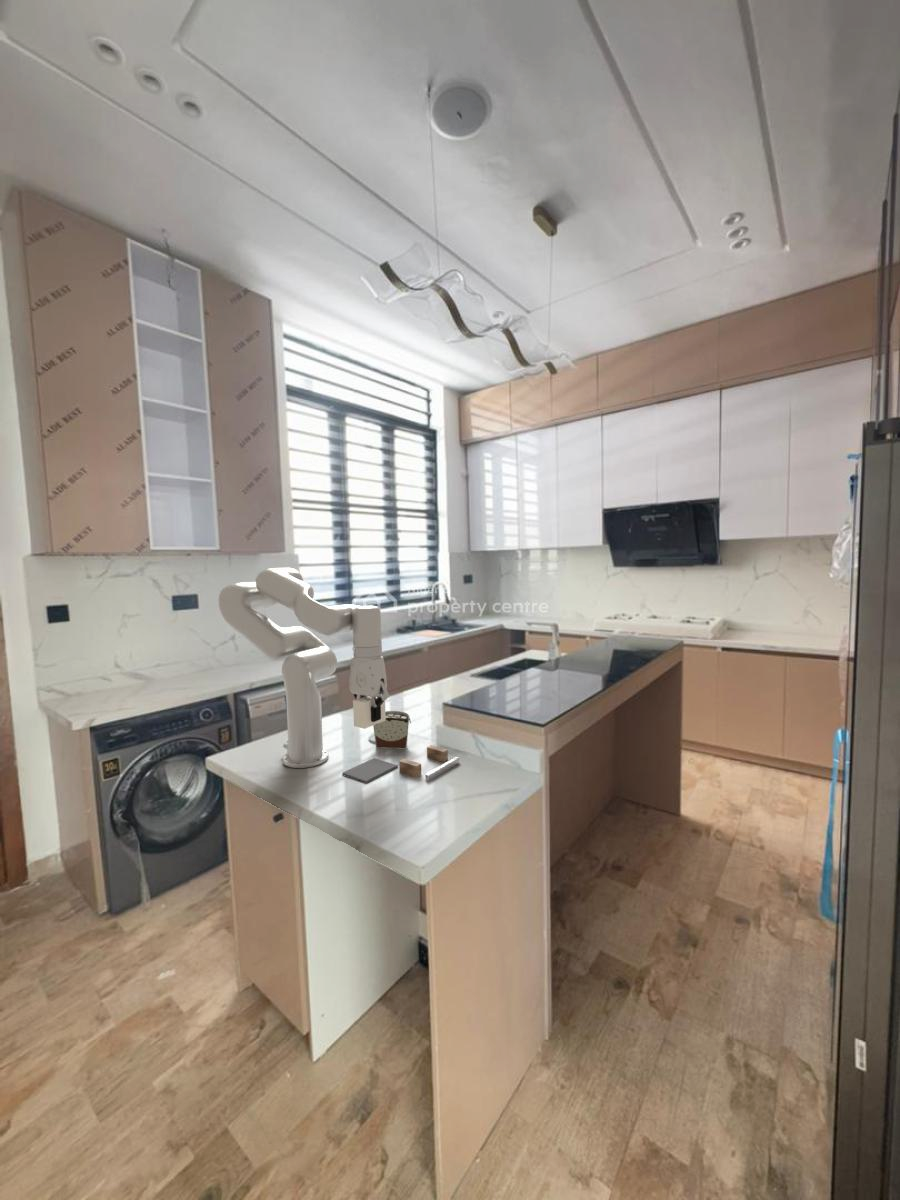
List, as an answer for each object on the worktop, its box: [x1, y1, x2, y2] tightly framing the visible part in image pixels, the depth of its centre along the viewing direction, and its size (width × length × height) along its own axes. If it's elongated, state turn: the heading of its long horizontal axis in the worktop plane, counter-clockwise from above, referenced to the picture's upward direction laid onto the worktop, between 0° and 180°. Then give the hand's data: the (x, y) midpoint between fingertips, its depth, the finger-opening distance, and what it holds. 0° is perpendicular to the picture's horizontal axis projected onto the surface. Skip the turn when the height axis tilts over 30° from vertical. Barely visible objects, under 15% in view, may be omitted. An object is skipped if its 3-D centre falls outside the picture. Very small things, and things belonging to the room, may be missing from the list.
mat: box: [342, 757, 399, 784], centre depth 133 cm, size 9×12×1 cm
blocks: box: [398, 744, 460, 782], centre depth 135 cm, size 10×14×3 cm
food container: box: [372, 710, 412, 750], centre depth 152 cm, size 12×6×10 cm, turn 84°
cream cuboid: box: [352, 694, 386, 729], centre depth 132 cm, size 4×8×7 cm, turn 144°
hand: (369, 718), depth 132 cm, fingers closed on cream cuboid, 4 cm apart
